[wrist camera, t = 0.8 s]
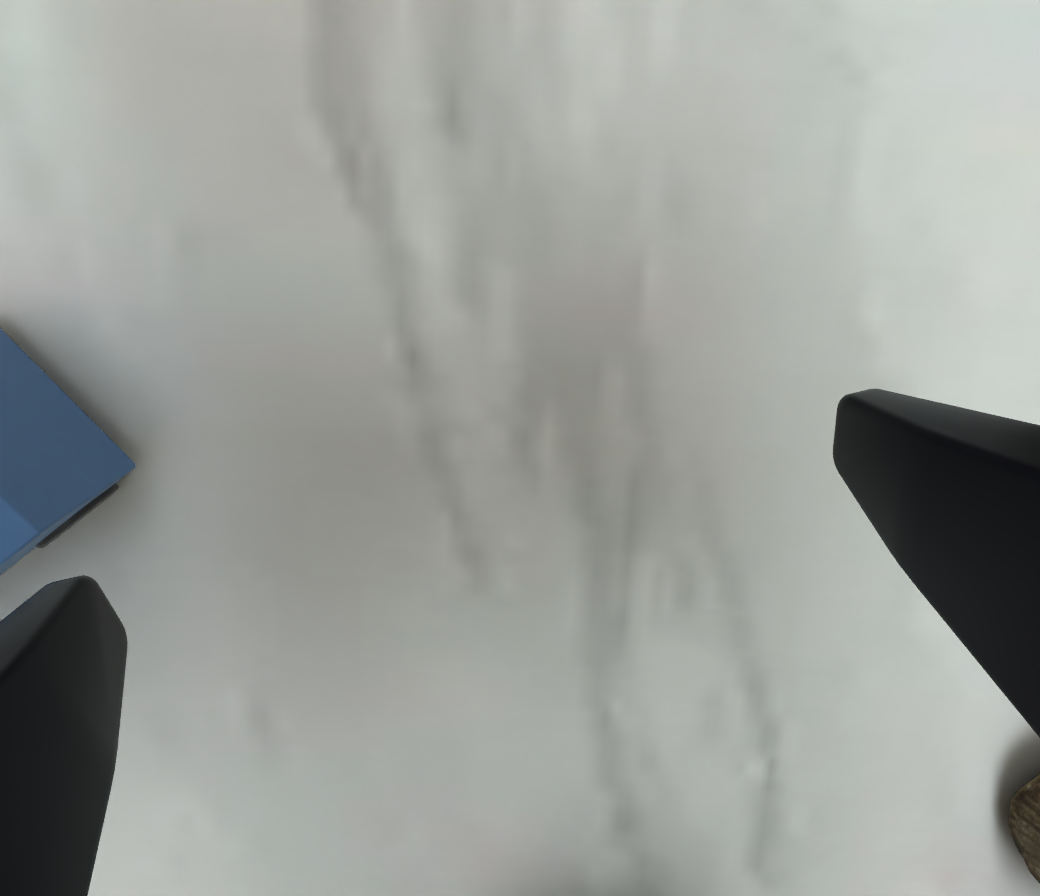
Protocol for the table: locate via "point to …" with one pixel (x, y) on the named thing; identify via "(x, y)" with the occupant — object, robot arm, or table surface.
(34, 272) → the table surface
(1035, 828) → the fossilized seashell
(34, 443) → the toy van
